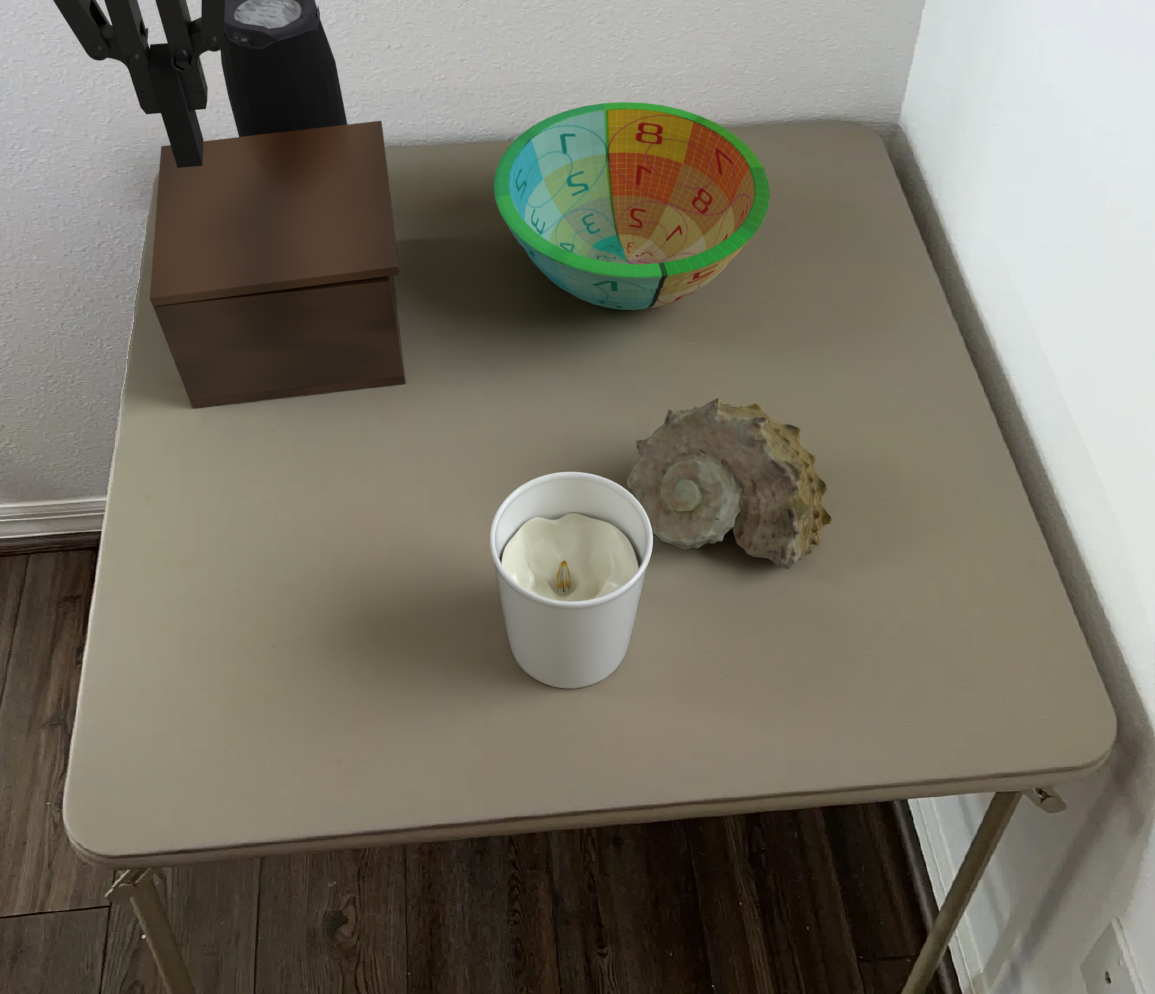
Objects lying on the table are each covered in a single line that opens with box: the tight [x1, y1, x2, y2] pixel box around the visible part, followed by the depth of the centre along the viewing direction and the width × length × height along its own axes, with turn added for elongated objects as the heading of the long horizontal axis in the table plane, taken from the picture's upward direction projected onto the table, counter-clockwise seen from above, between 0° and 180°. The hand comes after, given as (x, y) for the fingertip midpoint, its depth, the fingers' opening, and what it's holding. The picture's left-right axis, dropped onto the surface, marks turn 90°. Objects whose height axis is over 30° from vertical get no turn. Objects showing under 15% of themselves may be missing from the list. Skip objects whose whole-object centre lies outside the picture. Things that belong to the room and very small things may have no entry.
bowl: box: [493, 101, 771, 311], centre depth 95 cm, size 22×22×10 cm
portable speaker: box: [219, 0, 348, 137], centre depth 97 cm, size 9×9×20 cm
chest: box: [152, 275, 407, 409], centre depth 91 cm, size 17×18×11 cm
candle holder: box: [488, 471, 654, 689], centre depth 72 cm, size 10×10×12 cm
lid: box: [149, 120, 401, 307], centre depth 86 cm, size 18×18×1 cm
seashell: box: [626, 397, 833, 570], centre depth 80 cm, size 11×14×10 cm
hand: (190, 153), depth 69 cm, fingers closed
